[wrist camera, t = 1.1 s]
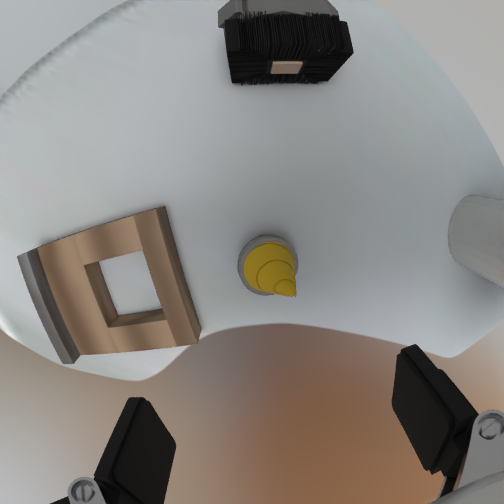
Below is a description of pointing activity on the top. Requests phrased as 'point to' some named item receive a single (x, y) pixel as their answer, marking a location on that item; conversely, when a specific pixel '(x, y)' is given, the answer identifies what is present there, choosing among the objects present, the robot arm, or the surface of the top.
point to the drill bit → (268, 266)
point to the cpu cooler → (284, 40)
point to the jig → (97, 295)
